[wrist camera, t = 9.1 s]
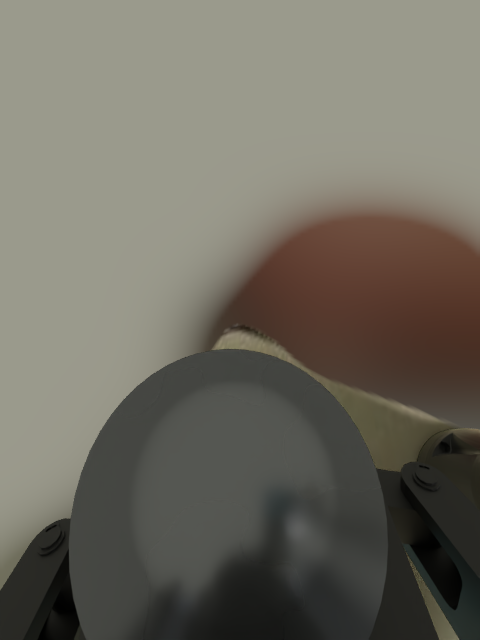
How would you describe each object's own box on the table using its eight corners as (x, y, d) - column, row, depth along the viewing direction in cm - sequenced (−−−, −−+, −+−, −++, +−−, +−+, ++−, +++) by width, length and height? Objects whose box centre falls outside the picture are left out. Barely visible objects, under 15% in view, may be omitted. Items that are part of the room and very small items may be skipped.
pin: (276, 431, 21) (370, 362, 4) (272, 498, 19) (415, 795, 3) (221, 424, 21) (127, 337, 5) (212, 488, 19) (4, 697, 3)
